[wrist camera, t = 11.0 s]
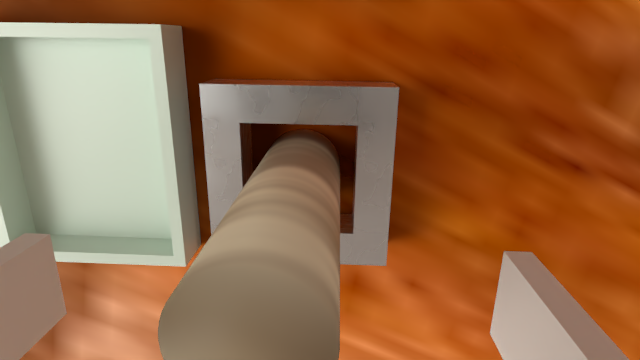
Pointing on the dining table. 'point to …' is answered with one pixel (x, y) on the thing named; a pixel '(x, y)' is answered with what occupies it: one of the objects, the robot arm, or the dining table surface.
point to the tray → (98, 142)
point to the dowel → (267, 266)
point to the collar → (317, 109)
